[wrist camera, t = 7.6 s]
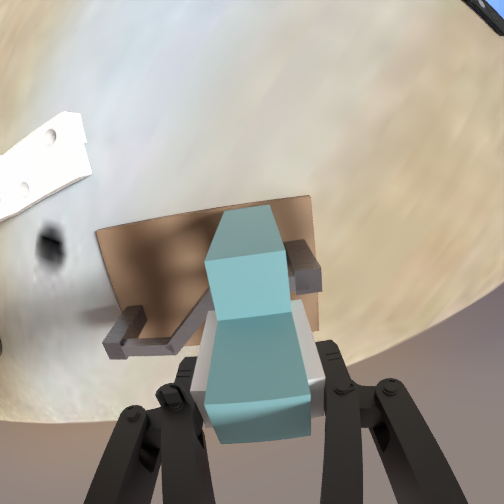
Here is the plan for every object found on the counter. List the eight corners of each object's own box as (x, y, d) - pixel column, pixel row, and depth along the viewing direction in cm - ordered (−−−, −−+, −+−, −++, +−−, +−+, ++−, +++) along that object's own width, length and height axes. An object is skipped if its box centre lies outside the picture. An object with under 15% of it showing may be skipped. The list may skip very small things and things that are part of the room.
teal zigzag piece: (241, 308, 29) (235, 473, 12) (224, 210, 25) (177, 332, 9) (281, 303, 29) (310, 466, 12) (269, 204, 25) (307, 317, 8)
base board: (138, 343, 33) (136, 348, 32) (100, 228, 28) (96, 231, 27) (317, 325, 32) (319, 330, 31) (308, 195, 27) (310, 196, 26)
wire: (143, 334, 31) (123, 374, 25) (121, 306, 30) (96, 342, 23) (312, 255, 28) (330, 287, 22) (293, 217, 27) (308, 240, 20)
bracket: (23, 212, 27) (-17, 229, 20) (9, 161, 25) (-31, 169, 18) (96, 172, 26) (55, 182, 19) (81, 113, 24) (38, 108, 17)
